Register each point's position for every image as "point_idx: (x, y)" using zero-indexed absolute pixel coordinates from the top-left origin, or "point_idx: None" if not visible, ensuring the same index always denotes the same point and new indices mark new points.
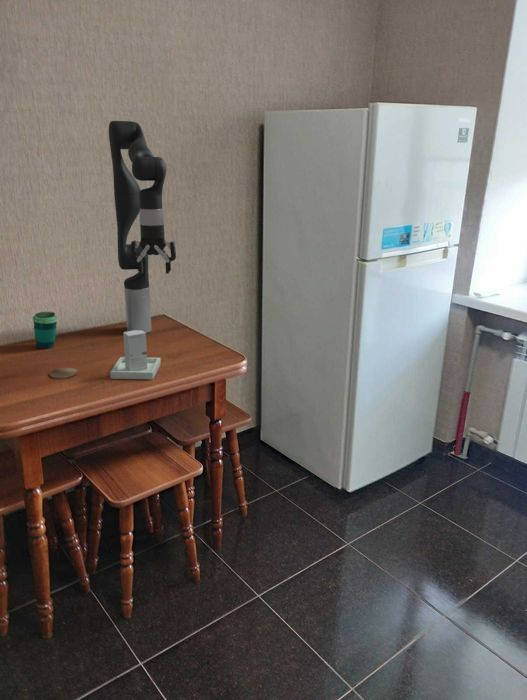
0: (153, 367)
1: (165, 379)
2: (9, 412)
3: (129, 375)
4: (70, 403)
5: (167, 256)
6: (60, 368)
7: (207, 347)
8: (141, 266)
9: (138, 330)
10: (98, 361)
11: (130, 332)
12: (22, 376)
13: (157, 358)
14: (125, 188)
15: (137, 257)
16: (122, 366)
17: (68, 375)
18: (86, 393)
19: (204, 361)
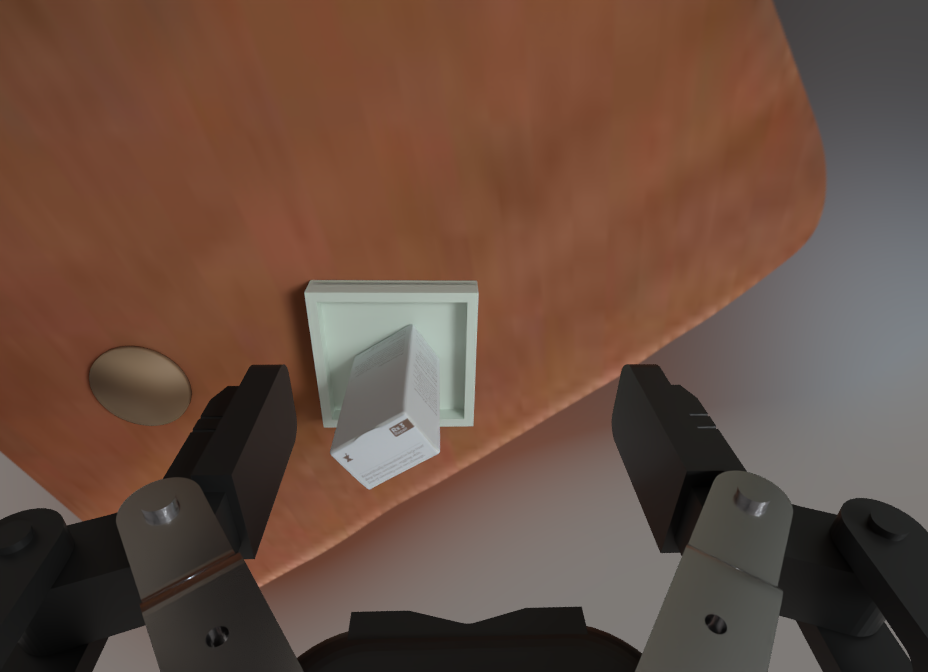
0: (468, 386)
1: (513, 408)
2: None
3: None
4: (286, 544)
5: (752, 567)
6: (104, 359)
7: (698, 37)
8: (272, 504)
9: (396, 430)
10: (203, 262)
11: (367, 460)
12: (12, 408)
13: (467, 301)
14: None
15: (142, 622)
16: (336, 338)
17: (176, 412)
18: (299, 498)
19: (660, 244)
